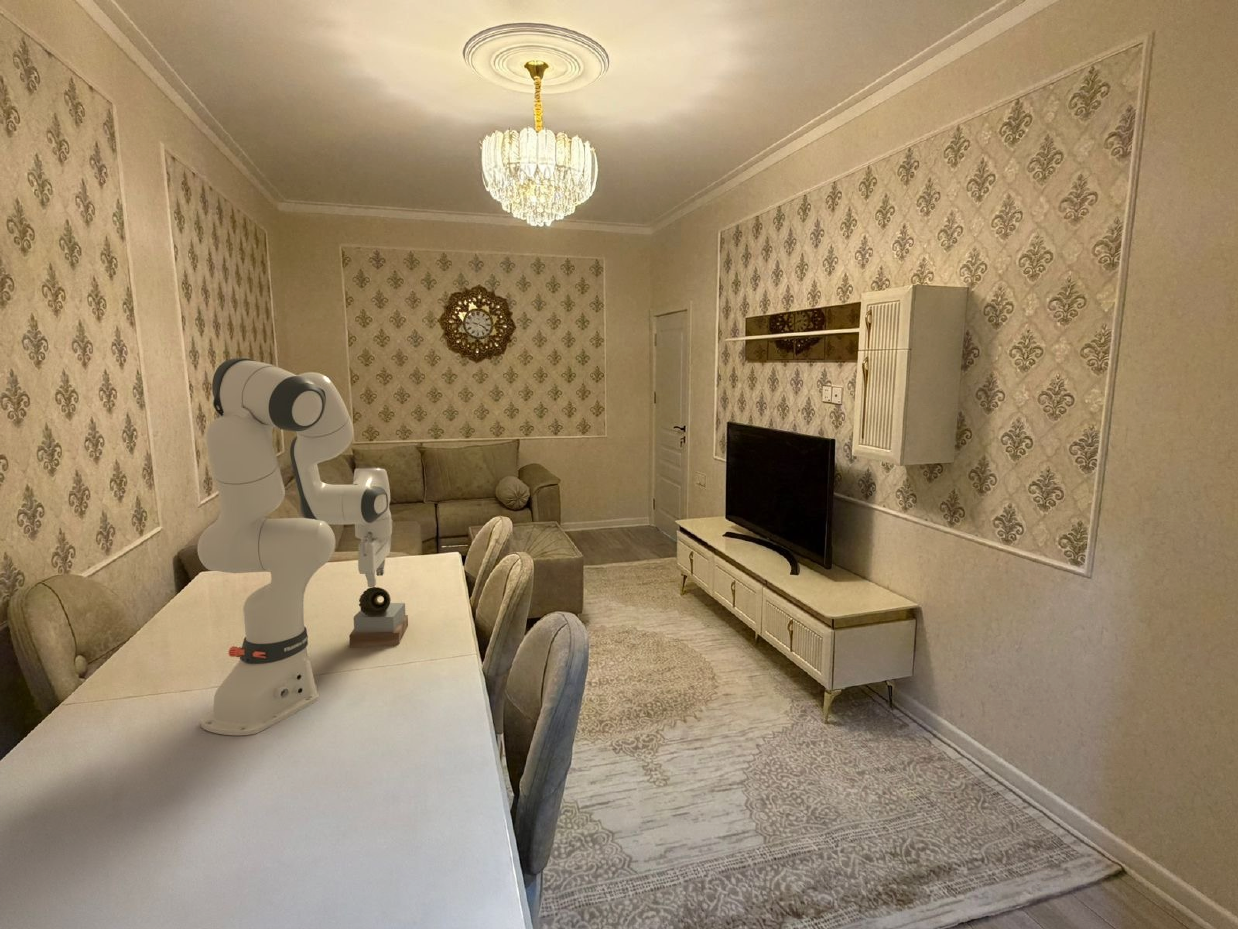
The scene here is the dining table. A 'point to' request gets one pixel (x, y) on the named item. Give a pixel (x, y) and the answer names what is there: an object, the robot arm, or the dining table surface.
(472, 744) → the dining table surface
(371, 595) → the cup
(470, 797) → the dining table surface
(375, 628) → the tower top
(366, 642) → the tower base
